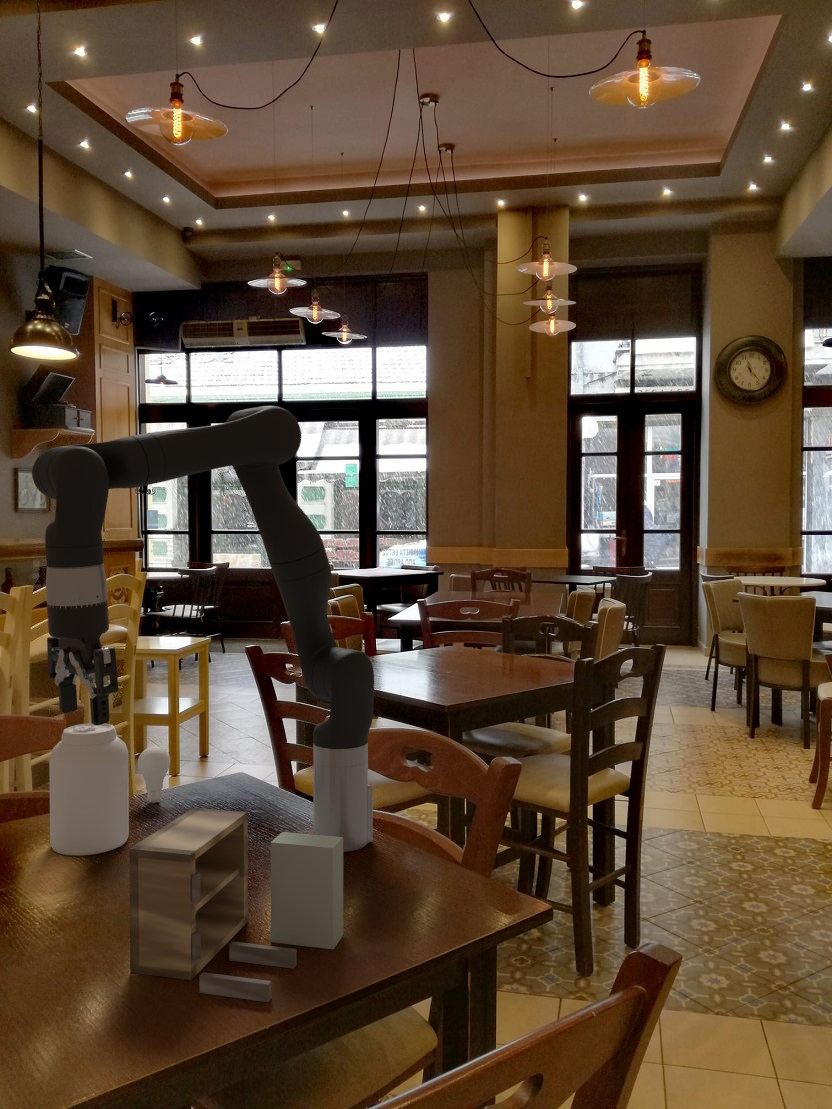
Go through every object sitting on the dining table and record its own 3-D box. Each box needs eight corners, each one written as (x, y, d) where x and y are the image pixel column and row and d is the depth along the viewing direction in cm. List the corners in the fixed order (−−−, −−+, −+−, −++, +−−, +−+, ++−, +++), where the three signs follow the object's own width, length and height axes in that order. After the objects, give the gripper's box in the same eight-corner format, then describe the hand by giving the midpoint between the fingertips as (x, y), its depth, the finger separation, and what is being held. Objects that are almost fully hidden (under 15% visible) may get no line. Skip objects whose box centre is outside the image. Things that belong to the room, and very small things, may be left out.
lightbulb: (177, 800, 172) (176, 745, 172) (155, 809, 166) (155, 752, 166) (153, 796, 174) (152, 741, 174) (131, 805, 169) (130, 748, 169)
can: (50, 862, 140) (49, 738, 139) (49, 837, 151) (48, 722, 151) (132, 850, 145) (131, 731, 144) (125, 827, 156) (124, 716, 156)
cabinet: (194, 915, 120) (193, 807, 120) (323, 930, 116) (322, 818, 116) (119, 981, 103) (118, 855, 102) (268, 1002, 98) (268, 870, 98)
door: (285, 925, 118) (285, 829, 117) (345, 931, 116) (345, 834, 115) (270, 942, 113) (270, 842, 112) (333, 949, 111) (333, 848, 110)
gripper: (131, 600, 113) (138, 721, 115) (77, 589, 123) (84, 701, 125) (77, 608, 108) (84, 735, 110) (24, 597, 117) (32, 714, 119)
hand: (84, 717), depth 117 cm, fingers open, 8 cm apart
